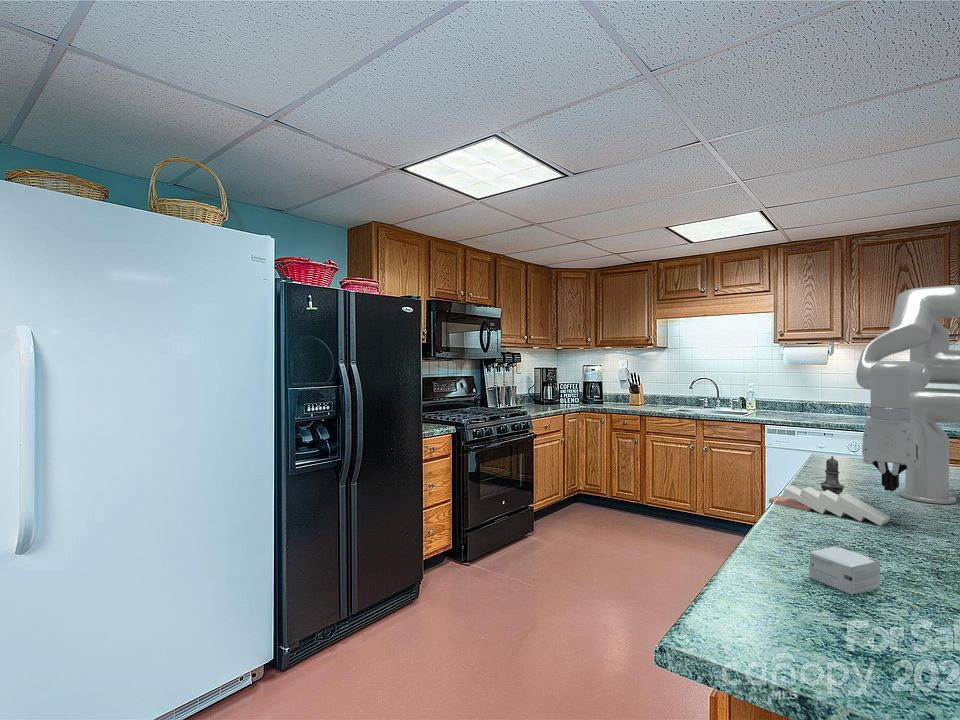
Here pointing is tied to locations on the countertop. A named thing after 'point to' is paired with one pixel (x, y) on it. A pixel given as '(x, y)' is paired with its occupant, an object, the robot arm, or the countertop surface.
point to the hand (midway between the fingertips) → (890, 489)
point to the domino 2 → (814, 495)
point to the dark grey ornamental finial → (832, 477)
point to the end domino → (789, 503)
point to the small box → (845, 570)
